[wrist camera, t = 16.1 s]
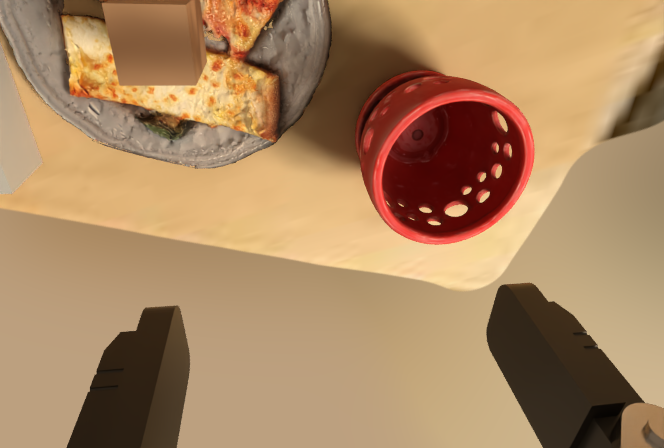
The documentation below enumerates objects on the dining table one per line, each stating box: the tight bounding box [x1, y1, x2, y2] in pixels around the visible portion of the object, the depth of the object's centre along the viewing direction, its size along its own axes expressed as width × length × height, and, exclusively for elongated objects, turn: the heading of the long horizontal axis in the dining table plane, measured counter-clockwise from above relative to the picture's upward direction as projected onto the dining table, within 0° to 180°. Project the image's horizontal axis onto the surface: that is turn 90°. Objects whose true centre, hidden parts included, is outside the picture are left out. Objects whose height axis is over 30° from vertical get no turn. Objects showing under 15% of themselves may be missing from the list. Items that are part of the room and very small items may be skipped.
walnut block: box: [102, 0, 207, 86], centre depth 32 cm, size 5×5×7 cm
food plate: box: [0, 0, 332, 169], centre depth 36 cm, size 25×23×4 cm
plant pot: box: [355, 70, 534, 245], centre depth 39 cm, size 13×13×12 cm
